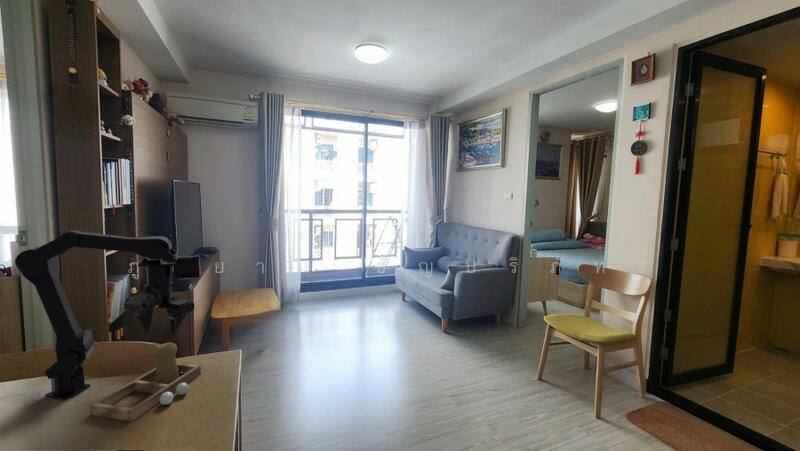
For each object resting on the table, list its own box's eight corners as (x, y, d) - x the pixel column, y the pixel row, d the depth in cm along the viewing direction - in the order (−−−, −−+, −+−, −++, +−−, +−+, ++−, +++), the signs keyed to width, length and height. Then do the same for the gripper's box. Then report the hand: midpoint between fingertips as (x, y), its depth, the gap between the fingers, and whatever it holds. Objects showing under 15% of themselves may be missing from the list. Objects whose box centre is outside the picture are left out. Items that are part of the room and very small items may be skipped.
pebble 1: (156, 406, 86) (156, 395, 86) (166, 399, 89) (166, 388, 89) (167, 408, 86) (166, 396, 86) (176, 401, 89) (176, 390, 89)
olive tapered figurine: (166, 389, 94) (165, 350, 93) (148, 386, 95) (147, 348, 94) (184, 377, 100) (183, 341, 99) (167, 375, 101) (166, 339, 100)
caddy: (90, 414, 82) (90, 404, 82) (166, 369, 104) (166, 361, 104) (131, 421, 81) (131, 411, 80) (200, 373, 102) (200, 365, 102)
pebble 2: (172, 396, 91) (172, 385, 90) (181, 390, 94) (181, 379, 93) (182, 397, 90) (182, 387, 90) (191, 391, 93) (191, 381, 93)
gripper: (103, 284, 92) (105, 340, 94) (162, 291, 89) (163, 349, 90) (142, 275, 103) (143, 325, 104) (195, 281, 99) (196, 333, 101)
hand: (160, 333), depth 100 cm, fingers open, 9 cm apart
